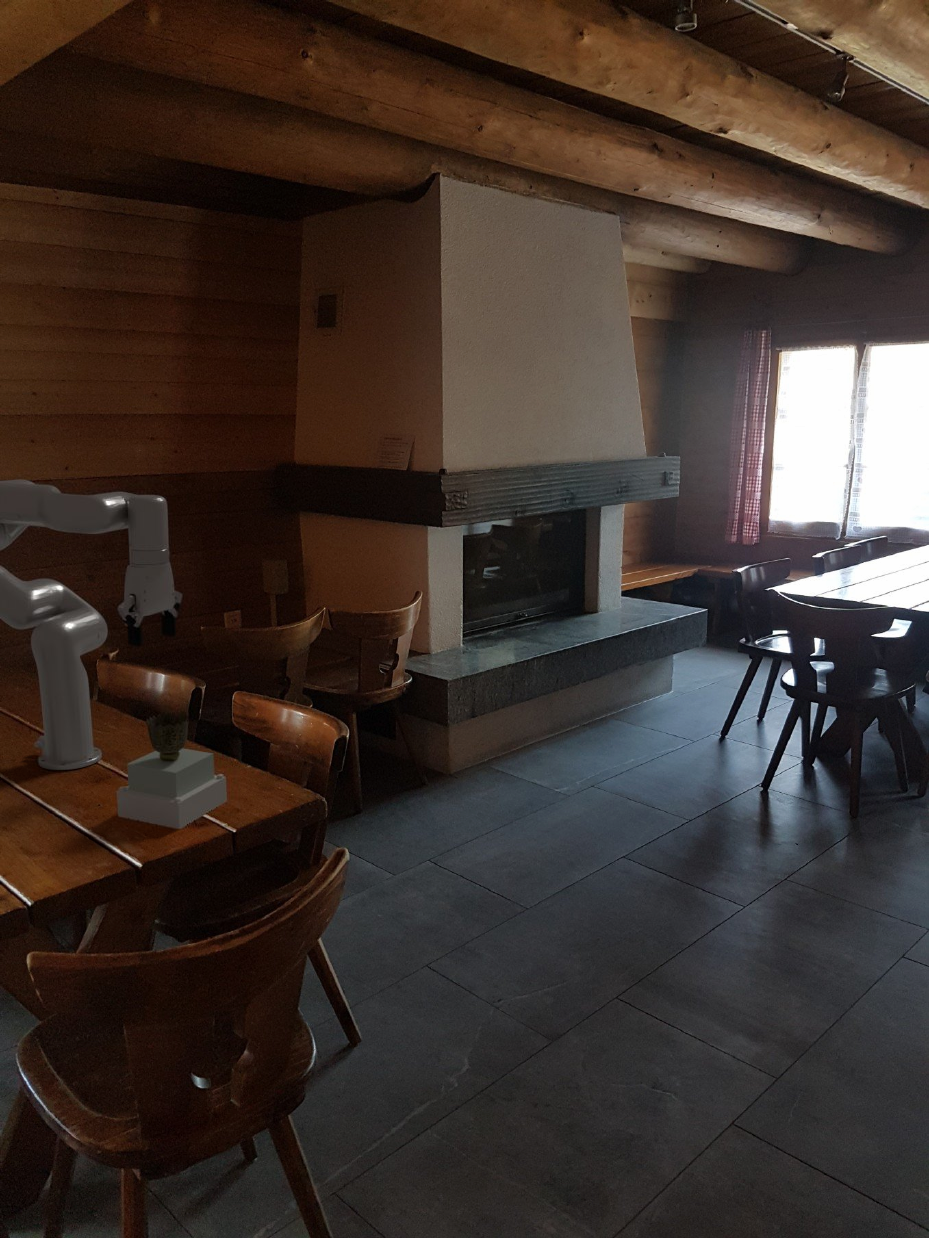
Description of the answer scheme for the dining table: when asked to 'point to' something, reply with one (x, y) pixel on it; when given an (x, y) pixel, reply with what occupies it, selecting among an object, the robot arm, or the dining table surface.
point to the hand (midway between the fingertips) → (152, 640)
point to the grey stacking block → (171, 789)
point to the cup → (168, 734)
